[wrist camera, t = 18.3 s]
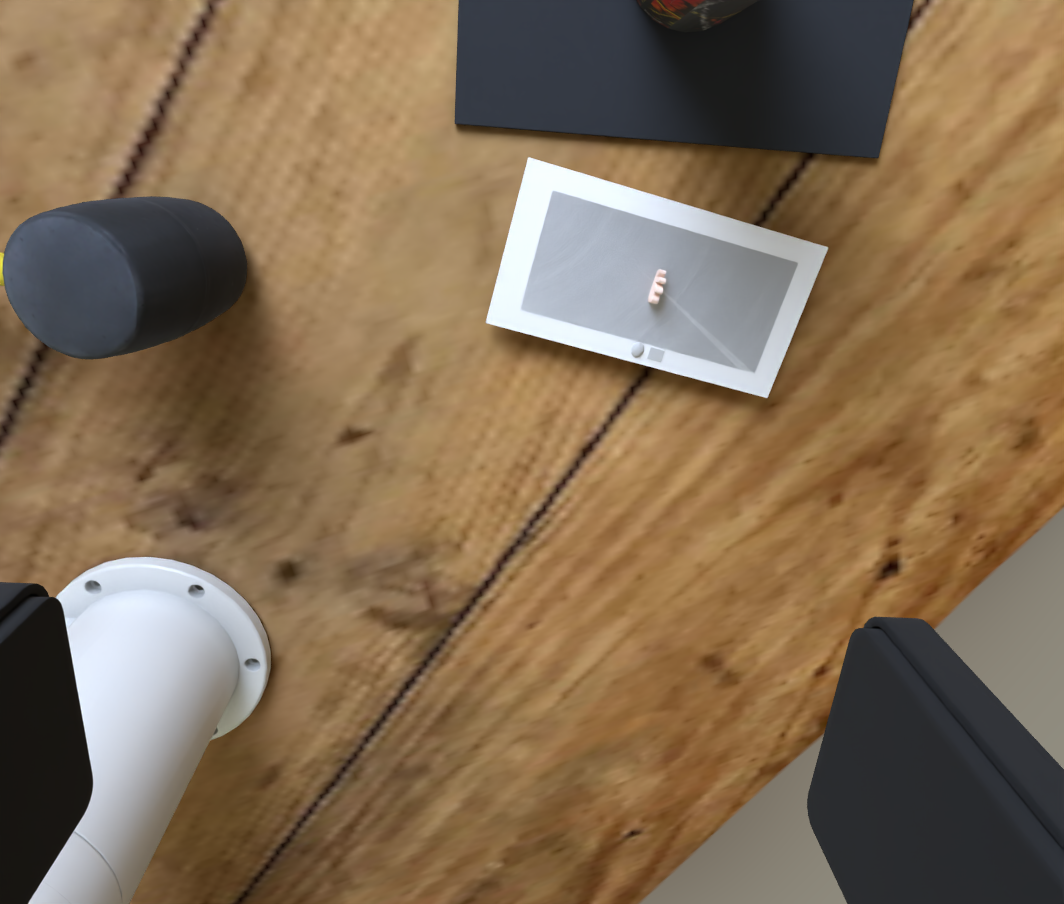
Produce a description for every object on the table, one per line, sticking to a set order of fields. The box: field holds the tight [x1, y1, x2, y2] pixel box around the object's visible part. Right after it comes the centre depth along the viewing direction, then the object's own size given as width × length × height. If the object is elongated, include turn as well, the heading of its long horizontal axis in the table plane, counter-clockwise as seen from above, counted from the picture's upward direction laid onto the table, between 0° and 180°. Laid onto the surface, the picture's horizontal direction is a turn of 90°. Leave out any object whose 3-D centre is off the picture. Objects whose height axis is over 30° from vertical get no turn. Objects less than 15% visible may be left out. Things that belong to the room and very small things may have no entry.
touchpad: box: [486, 157, 828, 398], centre depth 36 cm, size 8×15×2 cm, turn 74°
